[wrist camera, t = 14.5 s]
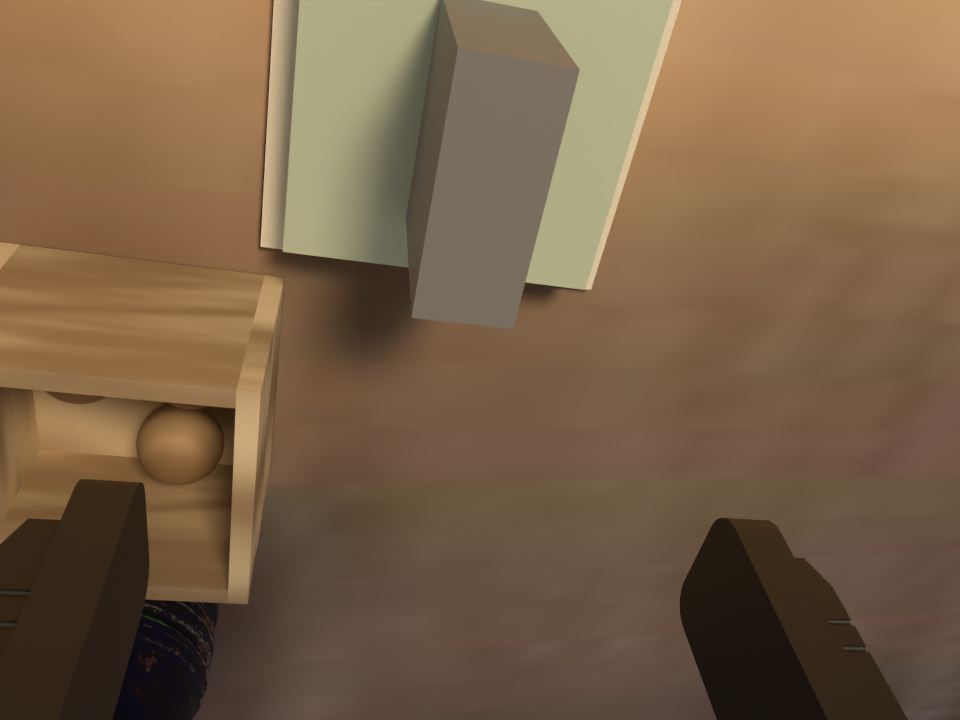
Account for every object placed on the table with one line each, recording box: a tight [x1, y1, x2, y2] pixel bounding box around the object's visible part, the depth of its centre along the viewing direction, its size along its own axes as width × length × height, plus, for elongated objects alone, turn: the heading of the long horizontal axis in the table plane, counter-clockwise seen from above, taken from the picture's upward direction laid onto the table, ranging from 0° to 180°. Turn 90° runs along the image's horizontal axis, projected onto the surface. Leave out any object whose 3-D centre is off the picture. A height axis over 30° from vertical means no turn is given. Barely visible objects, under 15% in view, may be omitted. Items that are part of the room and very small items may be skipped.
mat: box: [260, 0, 682, 290], centre depth 30 cm, size 14×14×1 cm
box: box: [0, 242, 284, 604], centre depth 33 cm, size 11×11×8 cm
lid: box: [283, 0, 673, 329], centre depth 26 cm, size 12×12×9 cm
